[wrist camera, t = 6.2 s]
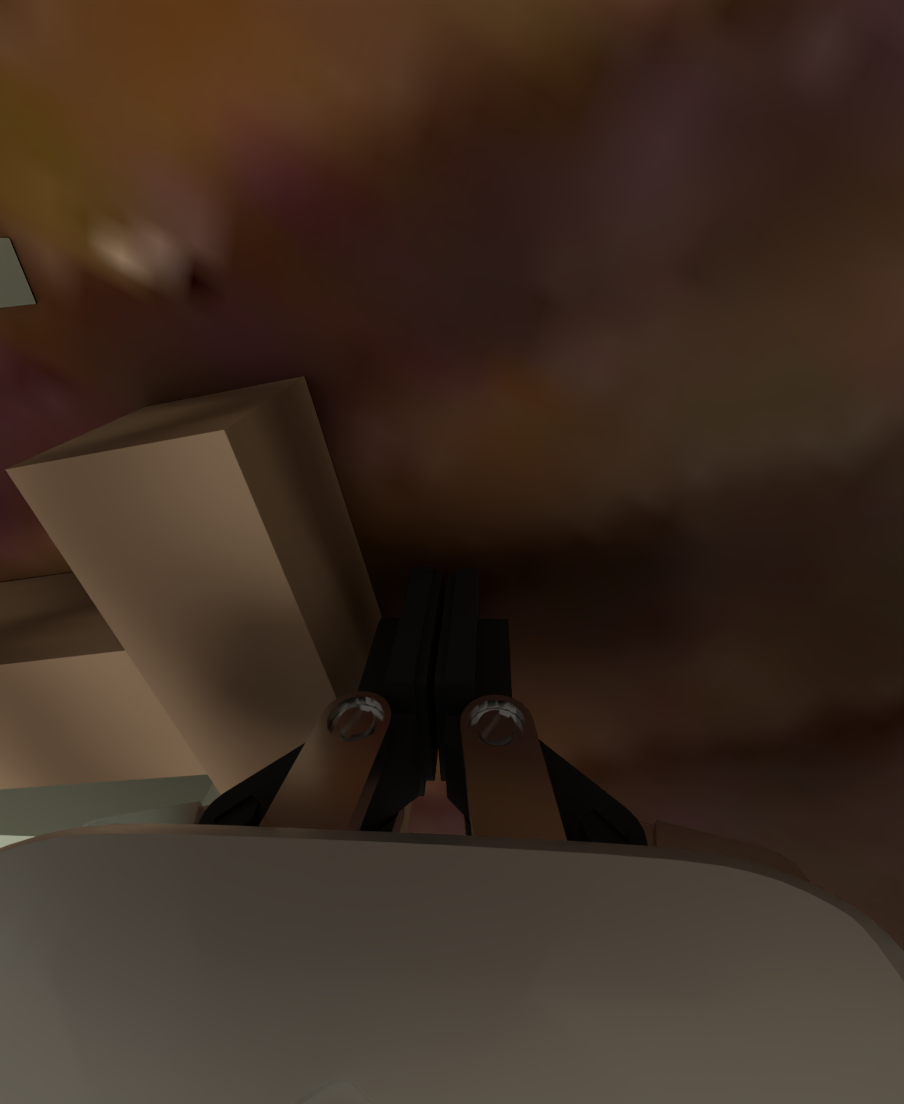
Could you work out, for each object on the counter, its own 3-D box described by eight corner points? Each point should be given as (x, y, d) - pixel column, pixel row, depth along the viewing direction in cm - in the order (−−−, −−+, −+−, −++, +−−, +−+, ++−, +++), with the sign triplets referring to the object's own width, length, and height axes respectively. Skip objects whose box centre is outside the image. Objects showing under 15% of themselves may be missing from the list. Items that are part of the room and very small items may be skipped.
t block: (304, 376, 11) (224, 429, 8) (420, 737, 17) (403, 858, 14) (-100, 454, 13) (-313, 526, 10) (132, 760, 19) (52, 873, 15)
